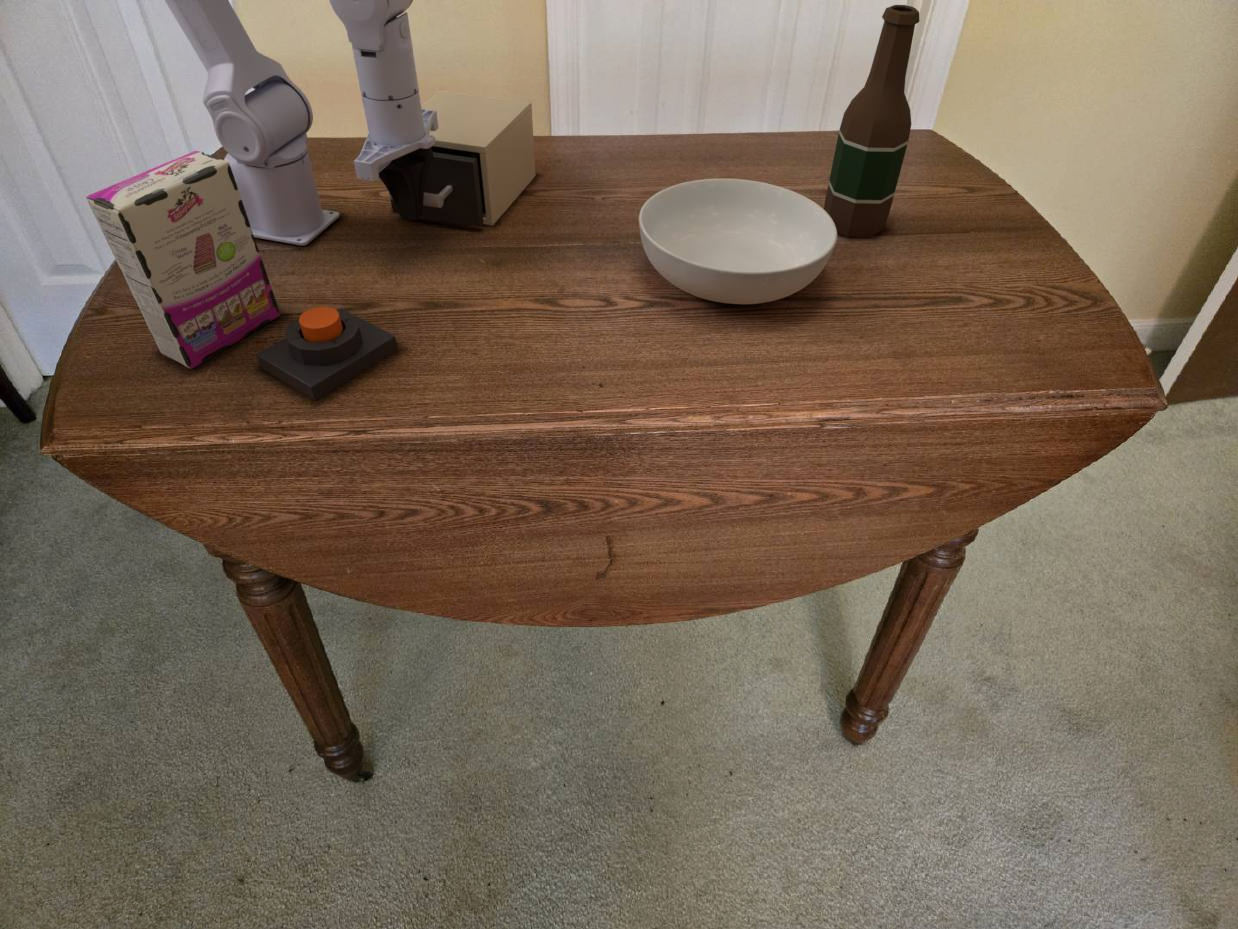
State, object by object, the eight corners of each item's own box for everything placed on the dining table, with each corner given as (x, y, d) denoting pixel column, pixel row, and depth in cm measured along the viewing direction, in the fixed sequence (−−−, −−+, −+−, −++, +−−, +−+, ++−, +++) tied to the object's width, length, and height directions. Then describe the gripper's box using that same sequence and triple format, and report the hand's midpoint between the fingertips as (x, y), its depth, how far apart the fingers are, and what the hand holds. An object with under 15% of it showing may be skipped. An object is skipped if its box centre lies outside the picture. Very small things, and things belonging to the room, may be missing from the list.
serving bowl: (779, 354, 81) (790, 293, 76) (601, 291, 88) (601, 233, 84) (852, 263, 94) (866, 207, 89) (691, 215, 101) (696, 161, 97)
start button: (320, 348, 75) (315, 332, 74) (295, 334, 76) (290, 318, 75) (351, 330, 77) (347, 315, 76) (326, 317, 78) (322, 302, 77)
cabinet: (492, 225, 99) (485, 147, 92) (398, 210, 101) (384, 132, 94) (535, 175, 109) (531, 101, 102) (449, 162, 111) (439, 89, 105)
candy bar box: (249, 302, 86) (196, 147, 74) (283, 316, 84) (233, 160, 73) (156, 355, 79) (81, 193, 68) (189, 372, 77) (119, 208, 66)
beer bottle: (814, 231, 99) (858, 13, 82) (827, 204, 104) (871, -7, 87) (879, 244, 97) (937, 23, 80) (889, 216, 102) (946, 2, 85)
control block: (315, 401, 74) (306, 370, 72) (261, 368, 78) (250, 338, 75) (398, 350, 80) (392, 320, 78) (344, 321, 83) (336, 292, 81)
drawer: (464, 243, 94) (456, 178, 88) (375, 228, 96) (362, 163, 90) (521, 179, 106) (517, 118, 100) (441, 167, 108) (432, 106, 103)
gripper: (391, 121, 77) (413, 252, 86) (456, 71, 87) (470, 193, 96) (324, 112, 78) (353, 241, 87) (396, 64, 88) (416, 184, 98)
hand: (411, 216), depth 92 cm, fingers closed
